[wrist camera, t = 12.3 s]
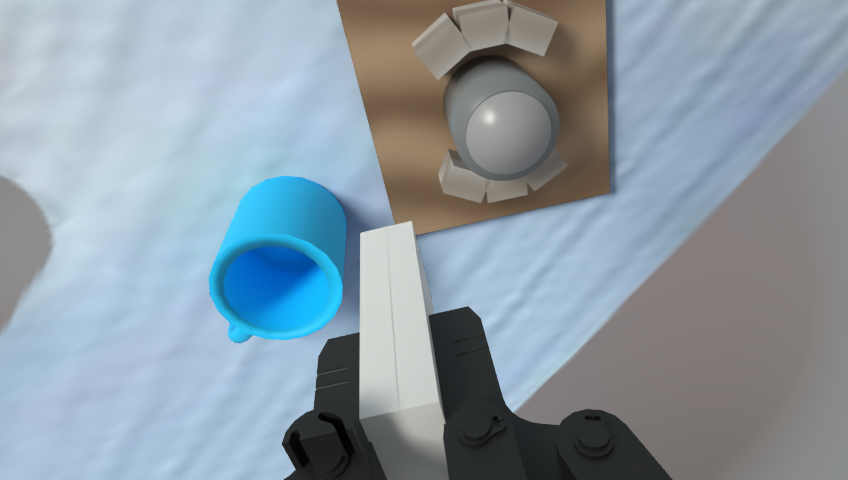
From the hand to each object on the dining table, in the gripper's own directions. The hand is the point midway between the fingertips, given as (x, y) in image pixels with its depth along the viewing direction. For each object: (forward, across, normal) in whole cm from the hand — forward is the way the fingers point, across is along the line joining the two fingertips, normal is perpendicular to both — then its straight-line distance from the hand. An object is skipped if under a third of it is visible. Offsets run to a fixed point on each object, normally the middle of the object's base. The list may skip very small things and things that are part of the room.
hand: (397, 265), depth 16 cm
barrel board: (+23, +6, -4) cm, 24 cm away
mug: (+23, -11, -11) cm, 28 cm away
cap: (+22, +6, -4) cm, 23 cm away
